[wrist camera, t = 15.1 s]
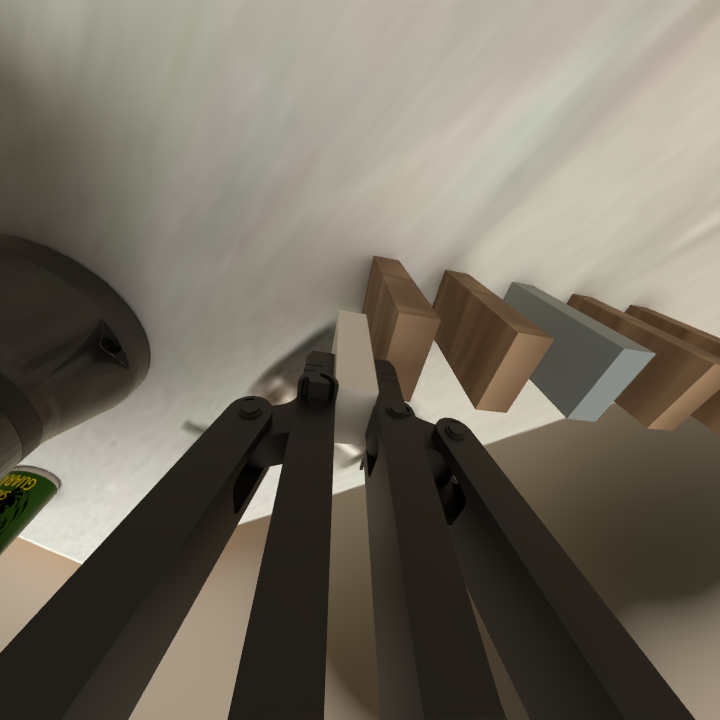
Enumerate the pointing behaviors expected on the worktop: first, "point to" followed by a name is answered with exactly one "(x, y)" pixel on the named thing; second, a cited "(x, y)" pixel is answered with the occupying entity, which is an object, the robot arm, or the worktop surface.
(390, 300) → the domino
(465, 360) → the domino
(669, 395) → the domino
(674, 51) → the worktop surface
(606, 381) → the domino
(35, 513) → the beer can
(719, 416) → the domino
